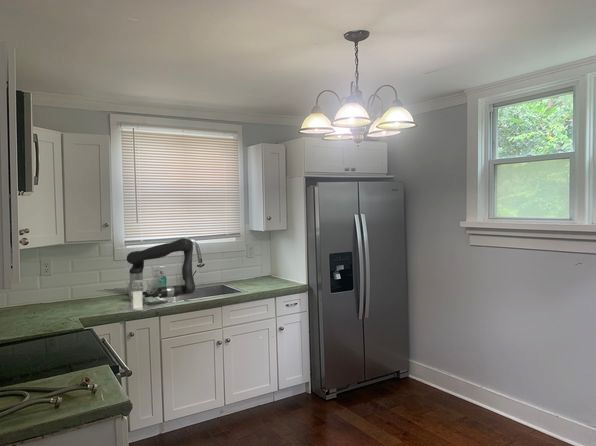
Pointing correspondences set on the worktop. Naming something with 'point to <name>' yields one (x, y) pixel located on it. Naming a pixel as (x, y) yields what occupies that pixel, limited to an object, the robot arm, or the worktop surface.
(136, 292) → the breaker module
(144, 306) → the mounting plate
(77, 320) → the worktop surface
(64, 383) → the worktop surface
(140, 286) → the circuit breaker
